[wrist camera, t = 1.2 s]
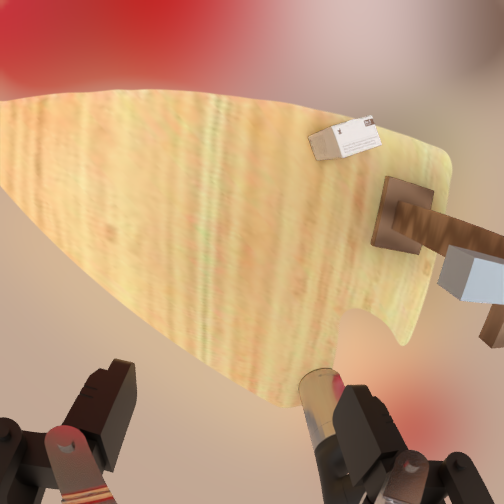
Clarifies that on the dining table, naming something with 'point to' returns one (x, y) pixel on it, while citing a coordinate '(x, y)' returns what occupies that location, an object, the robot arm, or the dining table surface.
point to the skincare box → (345, 139)
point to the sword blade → (473, 276)
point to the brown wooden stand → (434, 237)
